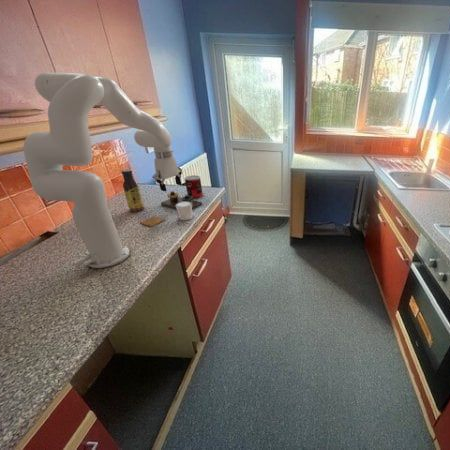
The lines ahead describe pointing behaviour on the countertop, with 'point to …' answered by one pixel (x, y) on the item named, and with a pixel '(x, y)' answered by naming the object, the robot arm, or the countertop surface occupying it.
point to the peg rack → (174, 201)
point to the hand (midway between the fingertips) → (171, 187)
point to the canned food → (193, 186)
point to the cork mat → (152, 221)
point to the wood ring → (187, 199)
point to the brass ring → (172, 195)
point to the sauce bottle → (132, 191)
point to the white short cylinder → (184, 210)
